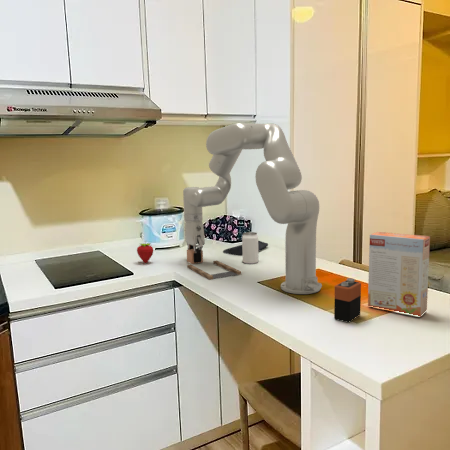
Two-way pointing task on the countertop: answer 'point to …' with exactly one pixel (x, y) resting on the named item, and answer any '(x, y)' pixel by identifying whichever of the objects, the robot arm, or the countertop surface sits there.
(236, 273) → the channel
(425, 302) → the cracker box
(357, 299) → the battery
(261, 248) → the dark slate chunk
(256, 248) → the can
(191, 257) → the block
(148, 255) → the strawberry
